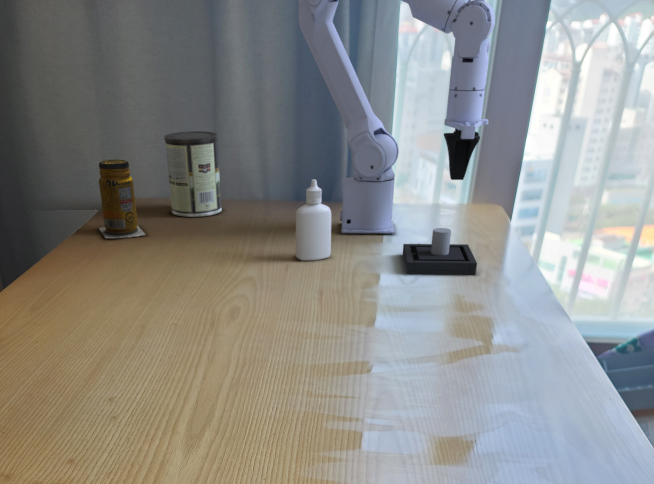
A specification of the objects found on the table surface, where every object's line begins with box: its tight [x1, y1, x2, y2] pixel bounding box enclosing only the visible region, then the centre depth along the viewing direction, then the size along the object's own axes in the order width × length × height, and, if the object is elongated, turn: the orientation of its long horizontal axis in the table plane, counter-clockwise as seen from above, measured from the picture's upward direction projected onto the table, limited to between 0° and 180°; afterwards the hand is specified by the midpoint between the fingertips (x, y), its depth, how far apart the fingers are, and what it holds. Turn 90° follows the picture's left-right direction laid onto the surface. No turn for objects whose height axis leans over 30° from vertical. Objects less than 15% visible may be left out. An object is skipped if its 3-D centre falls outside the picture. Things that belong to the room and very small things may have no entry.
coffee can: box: [163, 130, 223, 218], centre depth 148 cm, size 10×10×14 cm
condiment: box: [98, 159, 146, 239], centre depth 135 cm, size 7×8×12 cm
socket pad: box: [402, 243, 478, 276], centre depth 119 cm, size 10×10×2 cm
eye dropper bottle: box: [295, 179, 332, 262], centre depth 120 cm, size 4×6×12 cm
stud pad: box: [415, 227, 465, 261], centre depth 118 cm, size 7×7×5 cm
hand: (456, 179), depth 129 cm, fingers closed
